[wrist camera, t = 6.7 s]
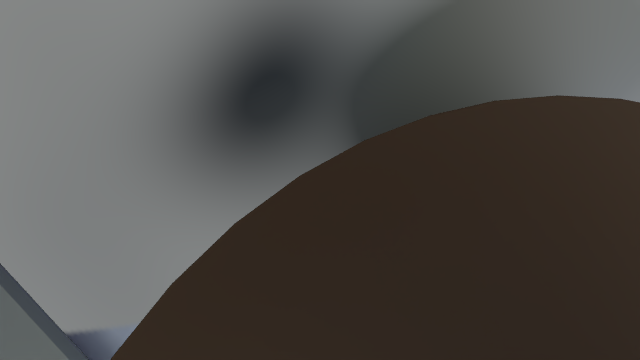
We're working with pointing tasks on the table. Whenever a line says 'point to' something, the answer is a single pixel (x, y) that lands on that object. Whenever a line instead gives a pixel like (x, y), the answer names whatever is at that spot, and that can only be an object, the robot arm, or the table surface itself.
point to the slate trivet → (29, 327)
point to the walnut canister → (431, 248)
